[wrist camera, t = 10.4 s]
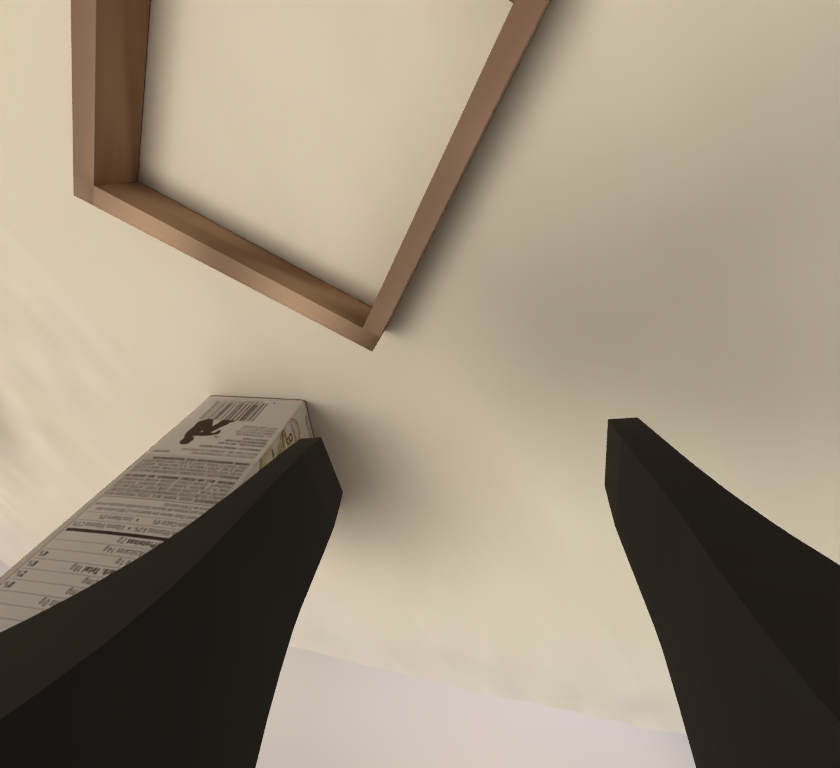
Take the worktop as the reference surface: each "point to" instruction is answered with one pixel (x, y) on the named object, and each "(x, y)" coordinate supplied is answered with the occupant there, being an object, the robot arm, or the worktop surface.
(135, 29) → the jug holder
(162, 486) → the coffee box
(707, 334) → the worktop surface
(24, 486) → the worktop surface
